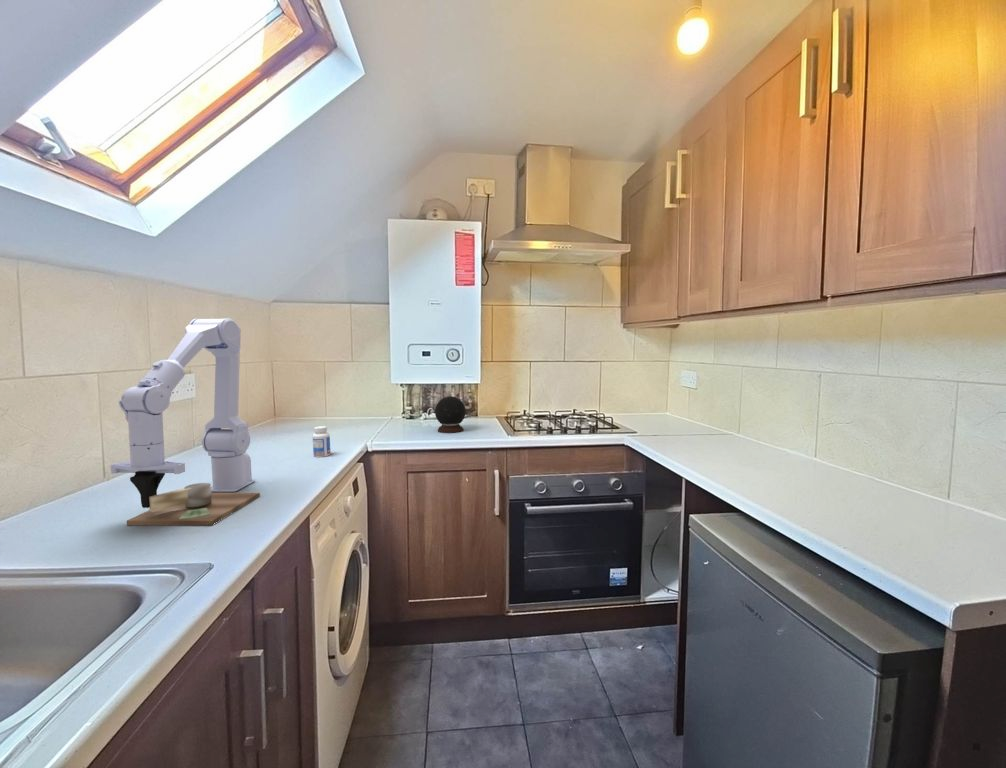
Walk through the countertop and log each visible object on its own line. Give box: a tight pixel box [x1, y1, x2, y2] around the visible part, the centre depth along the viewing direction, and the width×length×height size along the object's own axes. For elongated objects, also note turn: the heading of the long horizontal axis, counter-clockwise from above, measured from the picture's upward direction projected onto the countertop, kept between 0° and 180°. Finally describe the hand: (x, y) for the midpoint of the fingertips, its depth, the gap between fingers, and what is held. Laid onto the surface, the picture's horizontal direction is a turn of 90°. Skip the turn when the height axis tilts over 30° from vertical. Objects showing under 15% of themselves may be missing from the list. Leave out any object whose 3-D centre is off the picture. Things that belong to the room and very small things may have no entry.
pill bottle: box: [312, 425, 331, 458], centre depth 154 cm, size 6×5×10 cm
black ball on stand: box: [434, 396, 467, 434], centre depth 197 cm, size 13×13×15 cm
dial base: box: [126, 492, 261, 526], centre depth 104 cm, size 18×18×1 cm
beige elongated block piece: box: [149, 482, 212, 512], centre depth 101 cm, size 12×5×4 cm, turn 148°
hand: (150, 506), depth 97 cm, fingers closed, pressing on beige elongated block piece
